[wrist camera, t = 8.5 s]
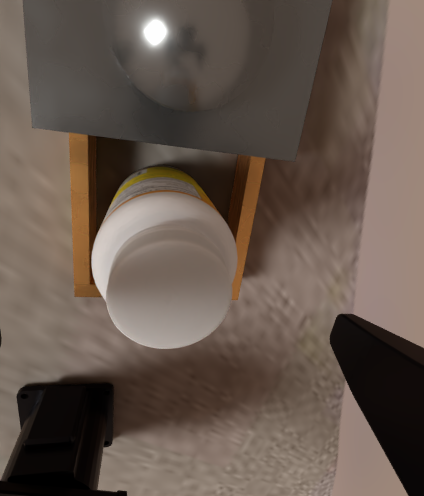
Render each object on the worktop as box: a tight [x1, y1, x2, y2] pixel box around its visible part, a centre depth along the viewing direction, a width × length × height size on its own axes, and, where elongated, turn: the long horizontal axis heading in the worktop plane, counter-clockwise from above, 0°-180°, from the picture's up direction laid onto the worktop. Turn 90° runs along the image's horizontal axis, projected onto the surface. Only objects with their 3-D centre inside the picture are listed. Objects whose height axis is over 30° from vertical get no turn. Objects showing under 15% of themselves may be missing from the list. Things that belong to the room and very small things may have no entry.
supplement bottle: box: [91, 165, 237, 349], centre depth 14 cm, size 6×6×10 cm
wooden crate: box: [23, 0, 332, 300], centre depth 15 cm, size 18×12×6 cm
